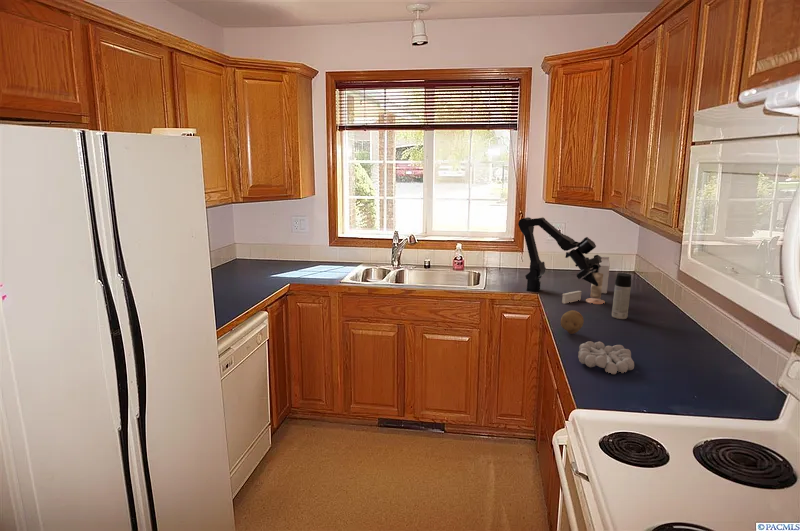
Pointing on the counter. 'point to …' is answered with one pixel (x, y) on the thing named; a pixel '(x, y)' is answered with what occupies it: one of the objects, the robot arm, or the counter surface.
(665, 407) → the counter surface
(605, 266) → the milk carton
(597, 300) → the terracotta coaster
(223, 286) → the counter surface
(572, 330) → the natural sponge
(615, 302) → the spray can
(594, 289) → the ash post
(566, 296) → the off-white long flat block
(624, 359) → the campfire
